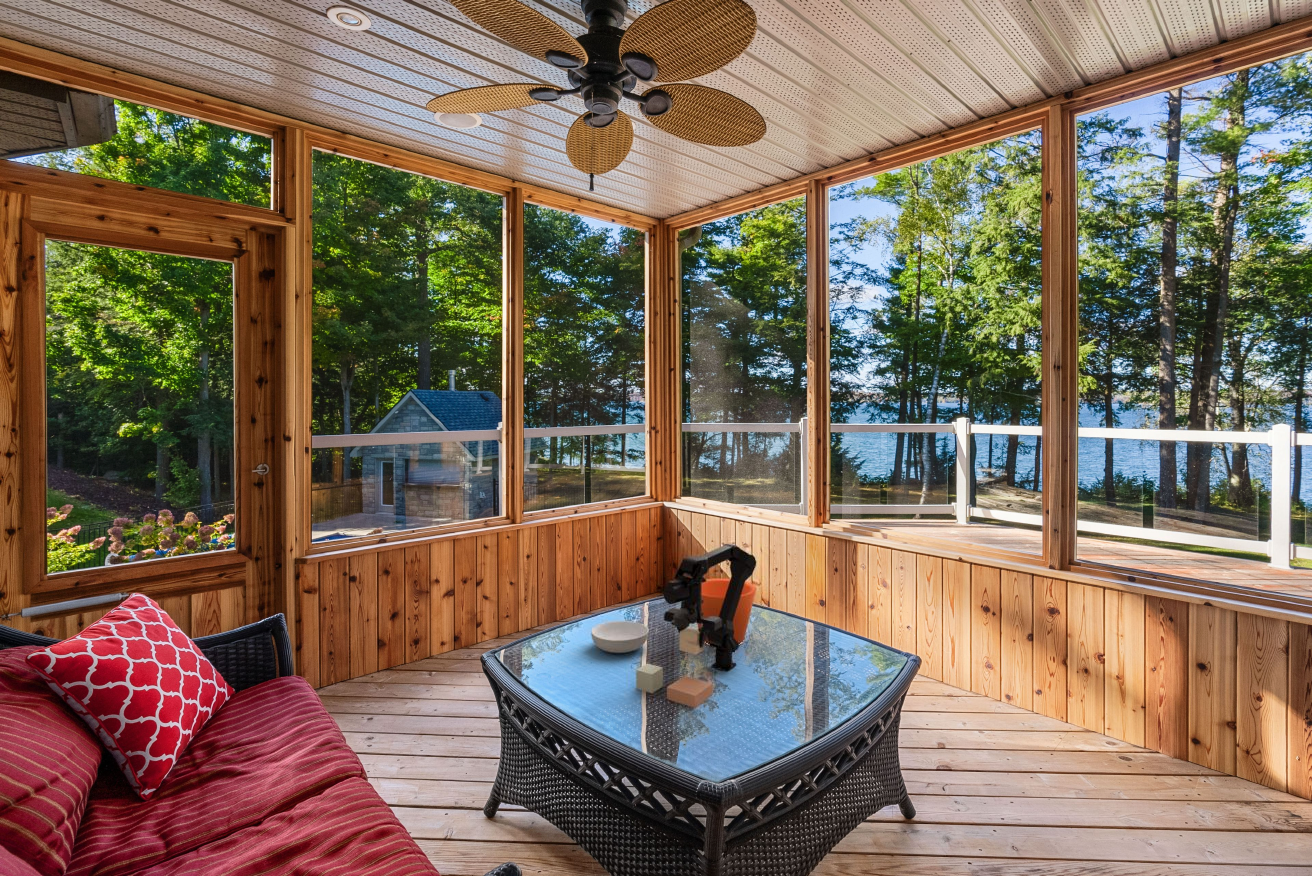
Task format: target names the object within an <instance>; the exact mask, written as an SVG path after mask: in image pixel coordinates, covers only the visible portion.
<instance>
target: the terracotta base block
mask: <svg viewBox="0 0 1312 876" xmlns="http://www.w3.org/2000/svg"><path fill="white" fill-rule="evenodd" d="M713 690H714V684H713V683H711V682H708V681H705V680H701V679H698V678H695V677H691V676H687V675H684V676H683V677H681V678H680V679H678V680H676V681H674V682H672V683H671V684H669V685H668V686H666V699H667V700H669V701H673V702H675V703H679V704H681V705H685V706H687V707H691V708H693V709H696V708H698V706H700V705H702V704H703V703H704V702H705V701H707V700H709V699H710V698H711V697H713V696H712V695H713V694H714V691H713ZM709 697H710V698H709ZM708 698H709V699H708ZM701 703H702V704H701Z"/></svg>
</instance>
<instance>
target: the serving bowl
mask: <svg viewBox="0 0 1312 876" xmlns="http://www.w3.org/2000/svg"><path fill="white" fill-rule="evenodd" d="M649 631H650V629H649V627H648V626H646V625H645V624H642V623H640V622H637V621H630V620H629V621H628V620H615V621H614V620H613V621H606V622H603V623H599V624H596V625H595V626H593V628H591V630H590V633H591V634H590V635H591V639H592V642H593V644H595V646H596V647H598V648H599V649H600V650H602V651H605V652H609V653H613V654H615V653H616V654H622V653H623V654H624V653H629V652H632V651H636V650H638V649H639V648H642V647H643V645H644V644H645V643H646V642H647V640H648V637H649V634H650V633H649Z"/></svg>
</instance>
